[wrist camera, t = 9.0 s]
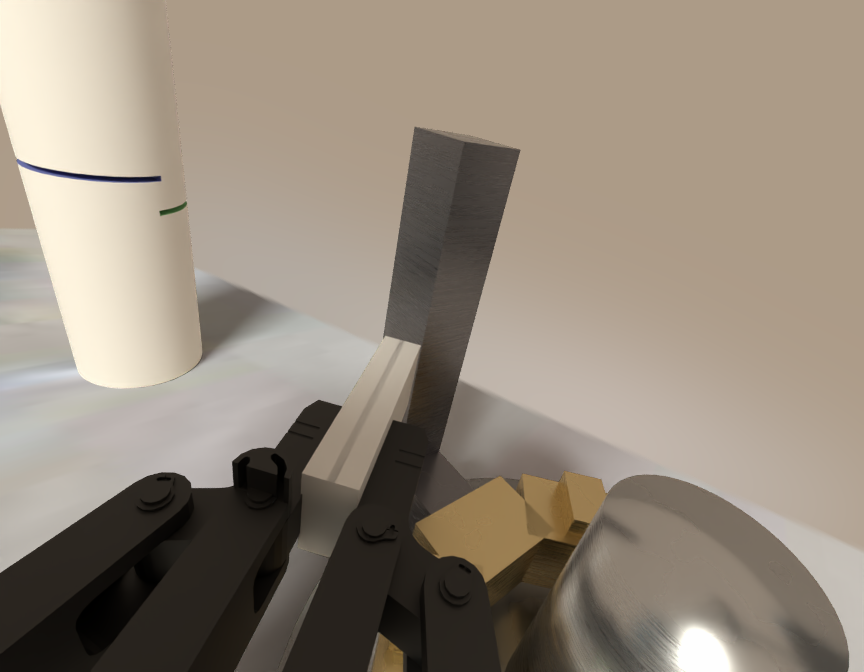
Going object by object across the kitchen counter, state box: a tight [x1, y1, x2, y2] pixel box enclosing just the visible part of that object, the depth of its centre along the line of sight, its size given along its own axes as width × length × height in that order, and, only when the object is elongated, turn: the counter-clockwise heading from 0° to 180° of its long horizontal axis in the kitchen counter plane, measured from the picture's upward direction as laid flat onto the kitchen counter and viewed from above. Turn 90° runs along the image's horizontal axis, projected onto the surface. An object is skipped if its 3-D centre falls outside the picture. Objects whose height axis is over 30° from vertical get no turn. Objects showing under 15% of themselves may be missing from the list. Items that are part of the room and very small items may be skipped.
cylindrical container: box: [0, 0, 203, 388], centre depth 22 cm, size 7×7×25 cm
